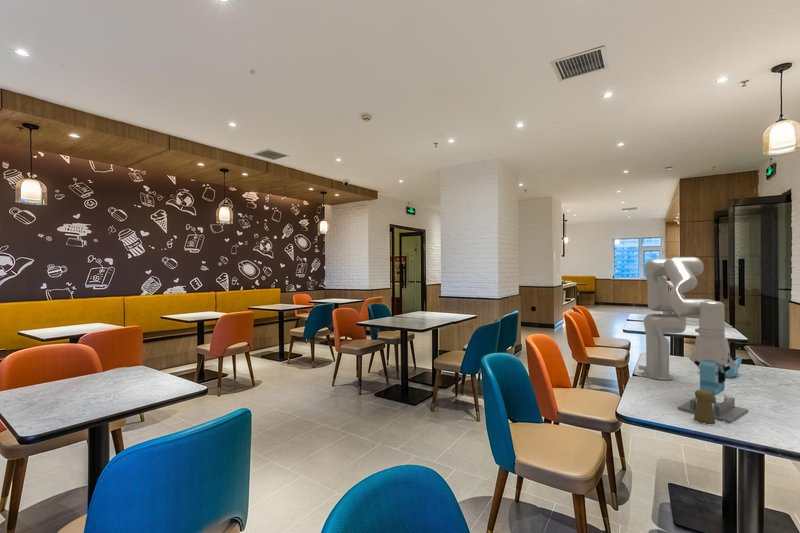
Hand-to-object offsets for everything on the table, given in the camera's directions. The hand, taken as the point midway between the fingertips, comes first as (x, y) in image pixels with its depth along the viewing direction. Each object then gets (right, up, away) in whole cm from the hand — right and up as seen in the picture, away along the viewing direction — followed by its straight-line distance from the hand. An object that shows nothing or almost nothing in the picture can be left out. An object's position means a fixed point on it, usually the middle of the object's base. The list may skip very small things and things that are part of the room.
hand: (712, 380), depth 145 cm
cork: (-11, -12, -10) cm, 19 cm away
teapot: (+44, -12, +48) cm, 67 cm away
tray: (0, -12, 0) cm, 12 cm away
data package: (0, -5, 0) cm, 5 cm away
